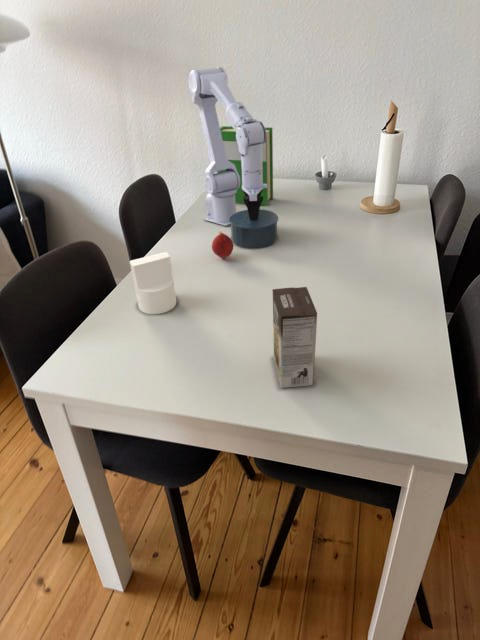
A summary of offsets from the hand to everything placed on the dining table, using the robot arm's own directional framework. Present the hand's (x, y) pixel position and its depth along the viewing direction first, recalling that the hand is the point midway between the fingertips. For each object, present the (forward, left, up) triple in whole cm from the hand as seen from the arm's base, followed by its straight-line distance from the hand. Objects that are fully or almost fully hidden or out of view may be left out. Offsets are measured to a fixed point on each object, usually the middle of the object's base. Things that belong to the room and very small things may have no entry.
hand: (253, 216), depth 137 cm
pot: (0, 0, -7) cm, 7 cm away
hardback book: (-23, +24, -7) cm, 34 cm away
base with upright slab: (+4, -42, -7) cm, 43 cm away
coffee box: (+44, -43, -7) cm, 62 cm away
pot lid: (0, 0, -1) cm, 1 cm away
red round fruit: (+1, -15, -7) cm, 17 cm away
